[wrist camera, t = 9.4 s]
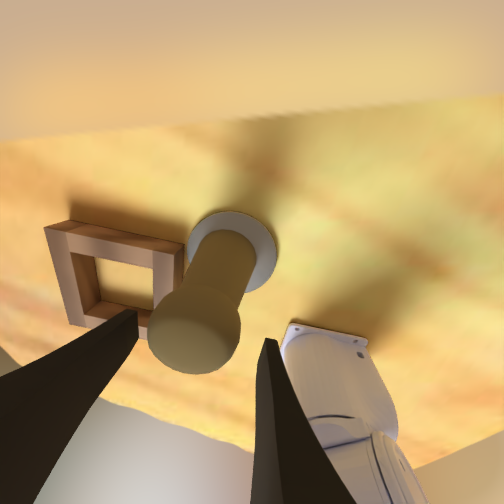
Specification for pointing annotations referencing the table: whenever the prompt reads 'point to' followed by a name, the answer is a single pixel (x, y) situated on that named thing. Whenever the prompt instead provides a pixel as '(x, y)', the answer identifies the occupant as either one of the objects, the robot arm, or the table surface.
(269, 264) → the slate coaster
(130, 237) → the walnut holder
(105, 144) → the table surface
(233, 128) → the table surface
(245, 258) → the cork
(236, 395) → the table surface
